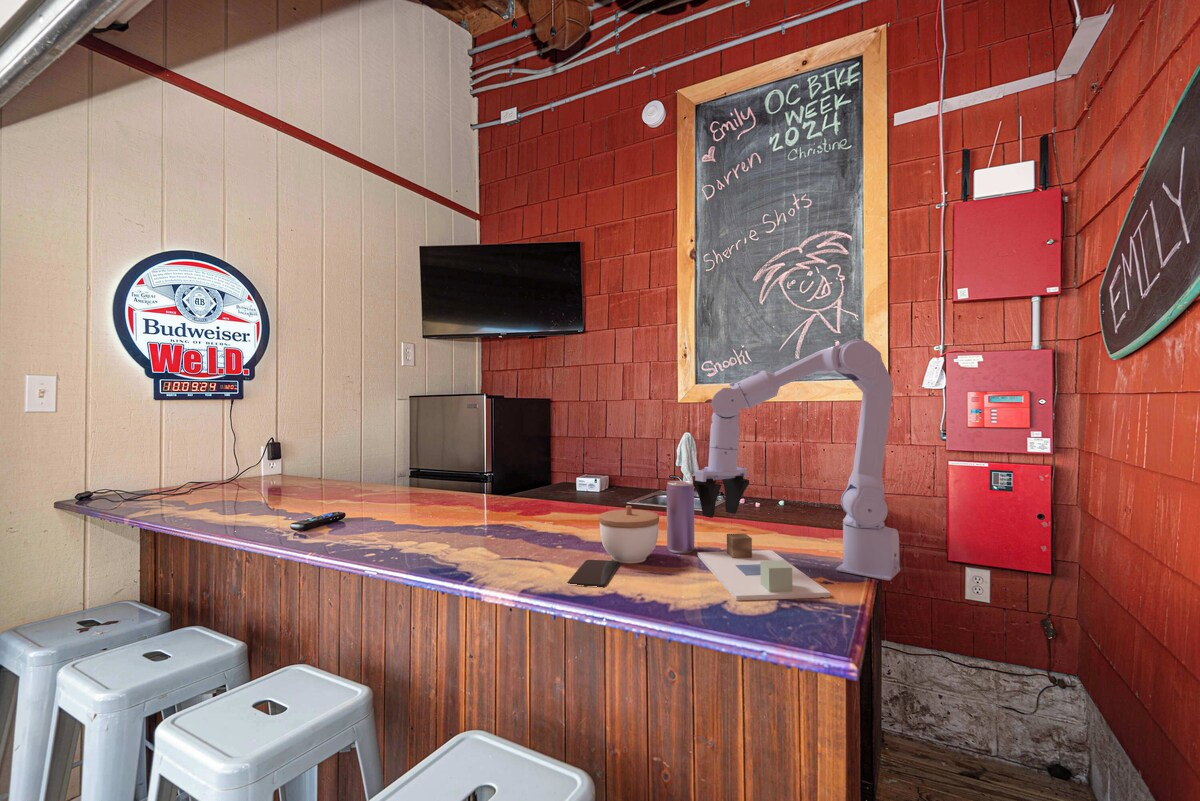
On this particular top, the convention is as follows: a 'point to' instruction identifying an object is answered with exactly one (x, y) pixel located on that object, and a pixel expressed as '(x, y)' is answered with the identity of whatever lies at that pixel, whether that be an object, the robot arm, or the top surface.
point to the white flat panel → (757, 576)
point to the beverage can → (680, 516)
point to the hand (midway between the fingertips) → (719, 514)
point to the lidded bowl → (629, 534)
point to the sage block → (776, 576)
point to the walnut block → (739, 545)
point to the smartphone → (594, 573)
